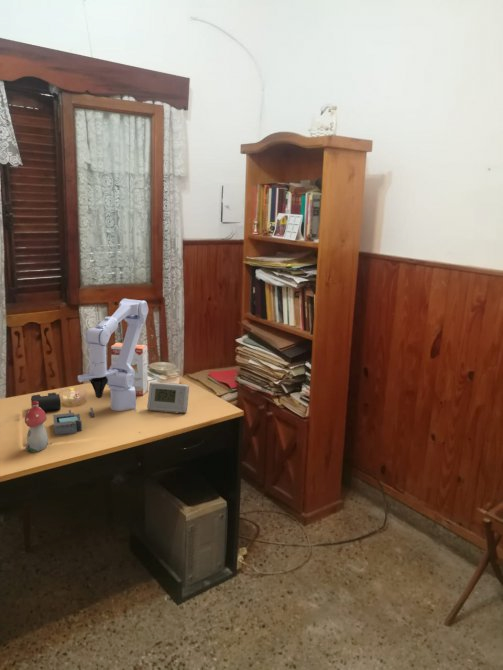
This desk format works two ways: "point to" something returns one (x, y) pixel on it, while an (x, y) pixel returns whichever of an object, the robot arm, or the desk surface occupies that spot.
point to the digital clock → (168, 397)
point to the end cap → (48, 401)
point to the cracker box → (135, 366)
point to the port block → (66, 424)
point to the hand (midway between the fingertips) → (98, 397)
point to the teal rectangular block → (68, 419)
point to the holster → (90, 411)
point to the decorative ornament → (36, 428)
